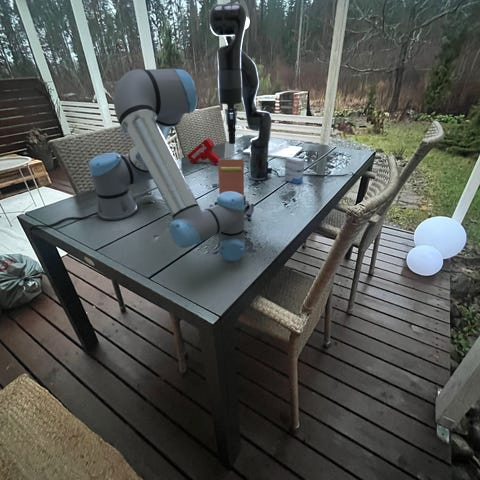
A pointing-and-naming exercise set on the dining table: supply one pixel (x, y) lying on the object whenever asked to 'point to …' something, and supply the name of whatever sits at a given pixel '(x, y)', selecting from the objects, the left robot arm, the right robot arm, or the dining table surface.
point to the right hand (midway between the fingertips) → (231, 141)
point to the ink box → (294, 170)
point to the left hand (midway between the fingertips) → (231, 199)
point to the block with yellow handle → (231, 176)
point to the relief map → (280, 150)
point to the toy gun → (204, 152)
